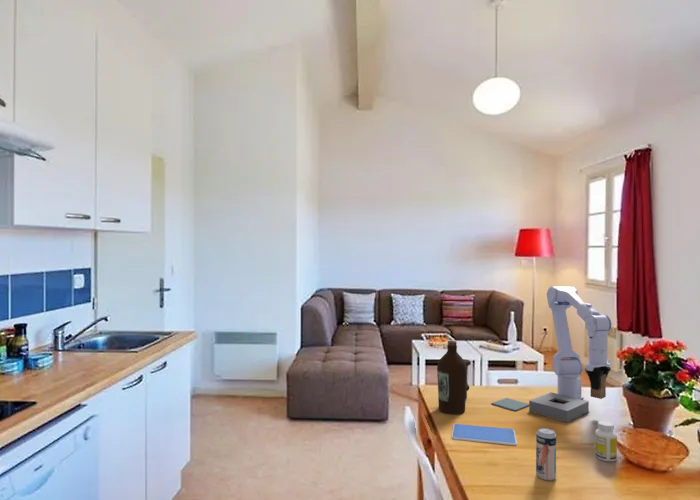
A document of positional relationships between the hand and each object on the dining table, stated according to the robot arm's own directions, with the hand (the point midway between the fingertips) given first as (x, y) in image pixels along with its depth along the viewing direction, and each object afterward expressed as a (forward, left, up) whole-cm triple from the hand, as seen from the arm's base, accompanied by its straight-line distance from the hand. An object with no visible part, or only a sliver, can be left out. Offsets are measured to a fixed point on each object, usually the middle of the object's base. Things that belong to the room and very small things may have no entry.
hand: (597, 388), depth 168 cm
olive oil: (+35, -37, -10) cm, 52 cm away
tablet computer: (+46, -16, -11) cm, 49 cm away
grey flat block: (+6, -11, -10) cm, 16 cm away
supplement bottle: (+33, +16, -10) cm, 38 cm away
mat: (+13, -26, -10) cm, 31 cm away
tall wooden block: (0, 0, -3) cm, 3 cm away
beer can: (+57, +11, -10) cm, 59 cm away
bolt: (+21, -42, -10) cm, 48 cm away
